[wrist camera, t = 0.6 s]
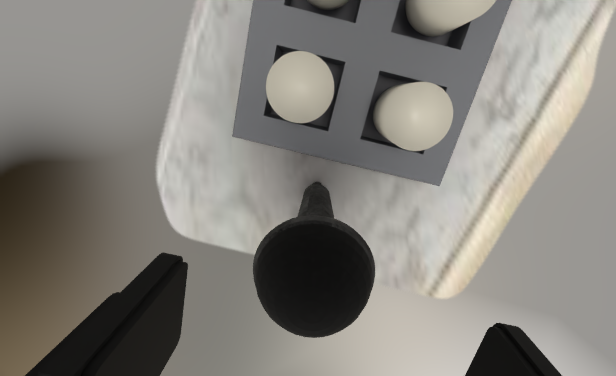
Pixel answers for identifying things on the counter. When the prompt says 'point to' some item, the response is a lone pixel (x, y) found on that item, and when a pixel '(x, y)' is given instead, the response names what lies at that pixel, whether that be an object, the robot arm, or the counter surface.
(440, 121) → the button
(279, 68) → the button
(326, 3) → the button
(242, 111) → the board
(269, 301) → the microphone
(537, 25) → the counter surface
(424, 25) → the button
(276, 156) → the counter surface
